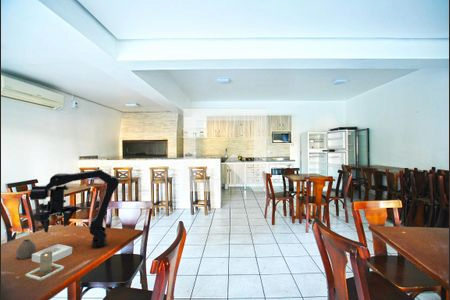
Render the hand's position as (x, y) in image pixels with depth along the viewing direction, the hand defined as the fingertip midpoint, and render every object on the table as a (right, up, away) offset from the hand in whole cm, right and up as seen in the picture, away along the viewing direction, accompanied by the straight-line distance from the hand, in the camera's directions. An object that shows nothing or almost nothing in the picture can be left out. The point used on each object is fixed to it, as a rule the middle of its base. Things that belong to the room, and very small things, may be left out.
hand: (55, 229), depth 113 cm
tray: (+9, -13, -17) cm, 23 cm away
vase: (-11, -12, -5) cm, 17 cm away
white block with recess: (+2, -13, -5) cm, 14 cm away
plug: (+9, -12, -17) cm, 23 cm away
